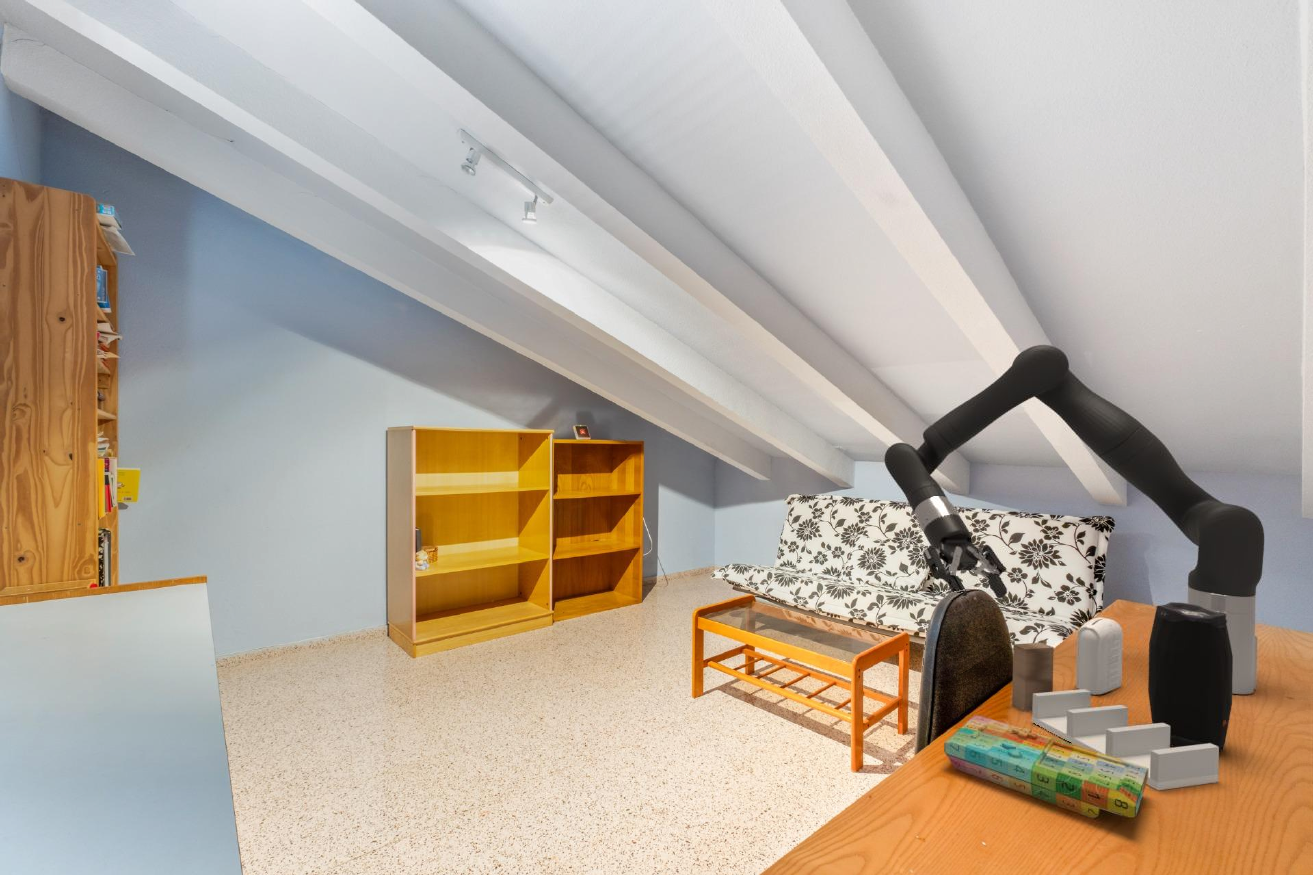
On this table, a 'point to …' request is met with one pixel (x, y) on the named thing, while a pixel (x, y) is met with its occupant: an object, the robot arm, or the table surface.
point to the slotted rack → (1125, 739)
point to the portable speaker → (1190, 674)
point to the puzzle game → (1047, 768)
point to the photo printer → (1099, 656)
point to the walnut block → (1031, 673)
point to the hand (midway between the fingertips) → (983, 596)
